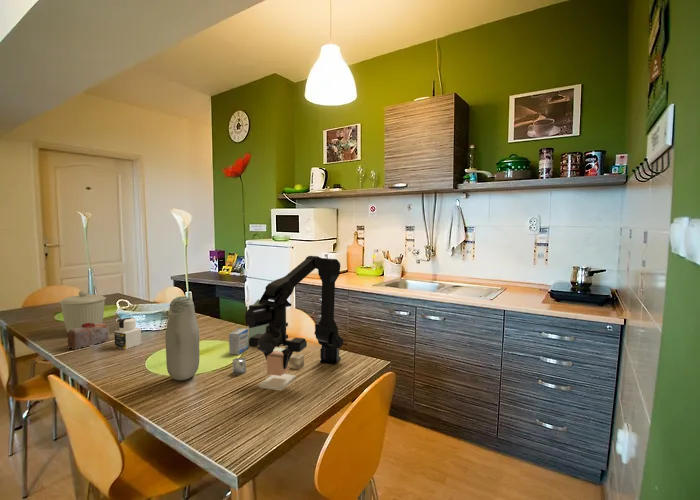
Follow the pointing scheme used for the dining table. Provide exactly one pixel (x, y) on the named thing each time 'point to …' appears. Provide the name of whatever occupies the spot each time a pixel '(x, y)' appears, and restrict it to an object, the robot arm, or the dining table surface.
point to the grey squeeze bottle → (182, 339)
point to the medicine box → (238, 341)
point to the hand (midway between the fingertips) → (277, 367)
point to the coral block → (275, 363)
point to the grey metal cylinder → (239, 366)
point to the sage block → (278, 349)
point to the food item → (87, 335)
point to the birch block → (296, 361)
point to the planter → (257, 329)
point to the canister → (82, 310)
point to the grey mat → (277, 382)
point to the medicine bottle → (127, 334)
